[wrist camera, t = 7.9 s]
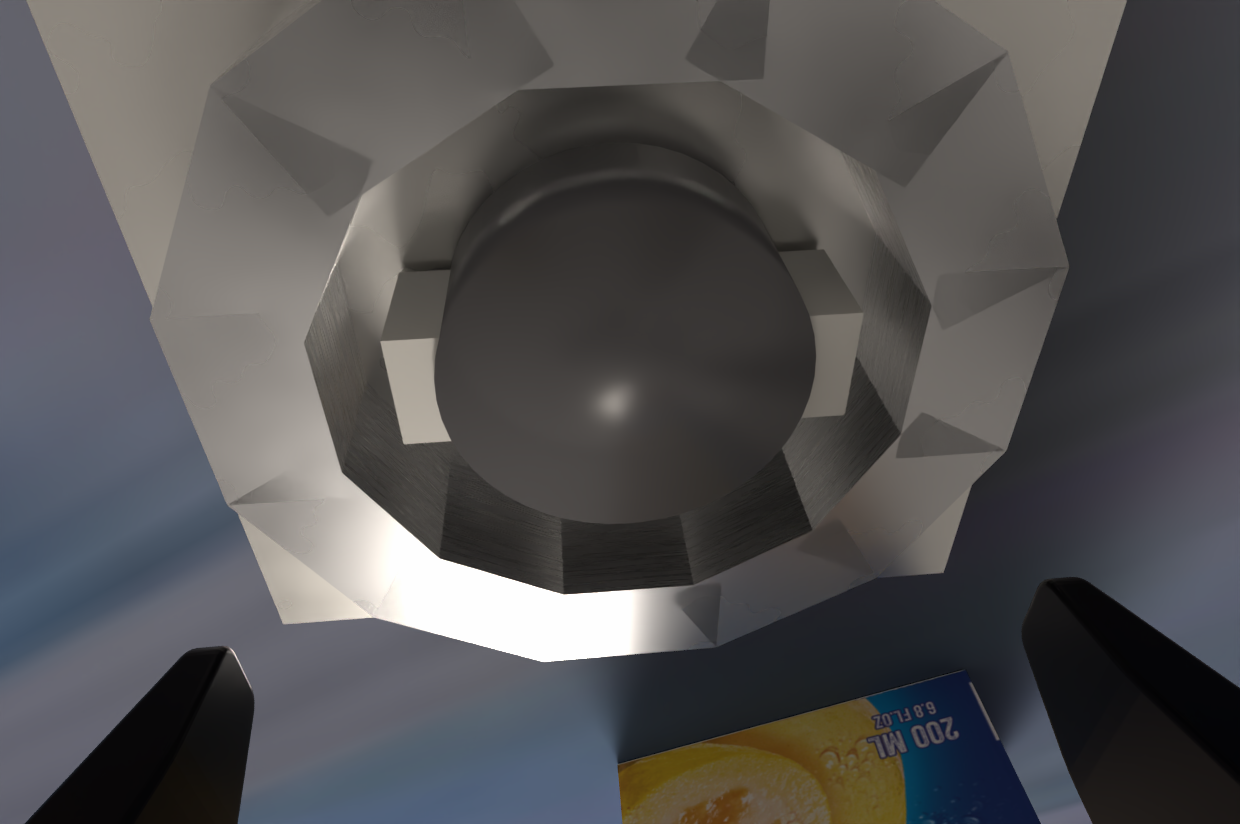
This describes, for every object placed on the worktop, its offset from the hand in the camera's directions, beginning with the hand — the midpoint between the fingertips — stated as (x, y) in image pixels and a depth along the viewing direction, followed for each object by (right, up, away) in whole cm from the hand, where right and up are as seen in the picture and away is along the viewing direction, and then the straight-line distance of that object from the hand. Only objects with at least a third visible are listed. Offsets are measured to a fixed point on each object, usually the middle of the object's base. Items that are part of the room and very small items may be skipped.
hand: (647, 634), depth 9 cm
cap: (0, +4, +6) cm, 7 cm away
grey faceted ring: (0, +5, +6) cm, 8 cm away
